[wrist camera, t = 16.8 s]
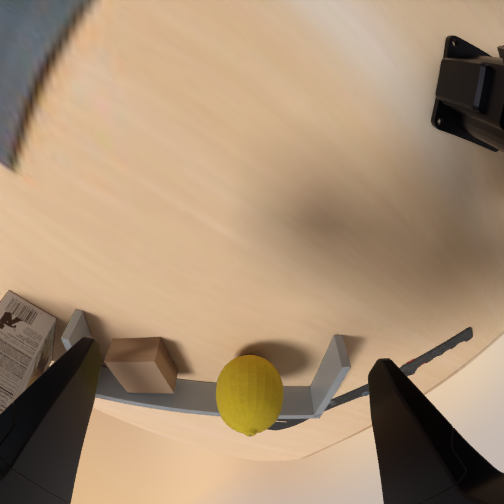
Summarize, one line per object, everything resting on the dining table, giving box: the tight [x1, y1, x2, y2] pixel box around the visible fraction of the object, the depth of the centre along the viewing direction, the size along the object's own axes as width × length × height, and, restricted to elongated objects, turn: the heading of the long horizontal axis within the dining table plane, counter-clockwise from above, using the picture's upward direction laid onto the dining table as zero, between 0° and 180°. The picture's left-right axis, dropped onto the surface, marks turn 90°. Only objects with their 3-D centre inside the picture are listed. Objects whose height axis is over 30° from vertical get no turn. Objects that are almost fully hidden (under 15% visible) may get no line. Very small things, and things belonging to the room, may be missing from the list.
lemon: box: [216, 355, 284, 436], centre depth 24 cm, size 6×6×8 cm
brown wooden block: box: [104, 337, 178, 393], centre depth 27 cm, size 5×5×3 cm
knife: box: [268, 327, 473, 430], centre depth 33 cm, size 32×4×1 cm, turn 126°
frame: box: [61, 309, 351, 419], centre depth 26 cm, size 24×9×4 cm, turn 83°
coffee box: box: [0, 291, 56, 413], centre depth 20 cm, size 9×6×16 cm
